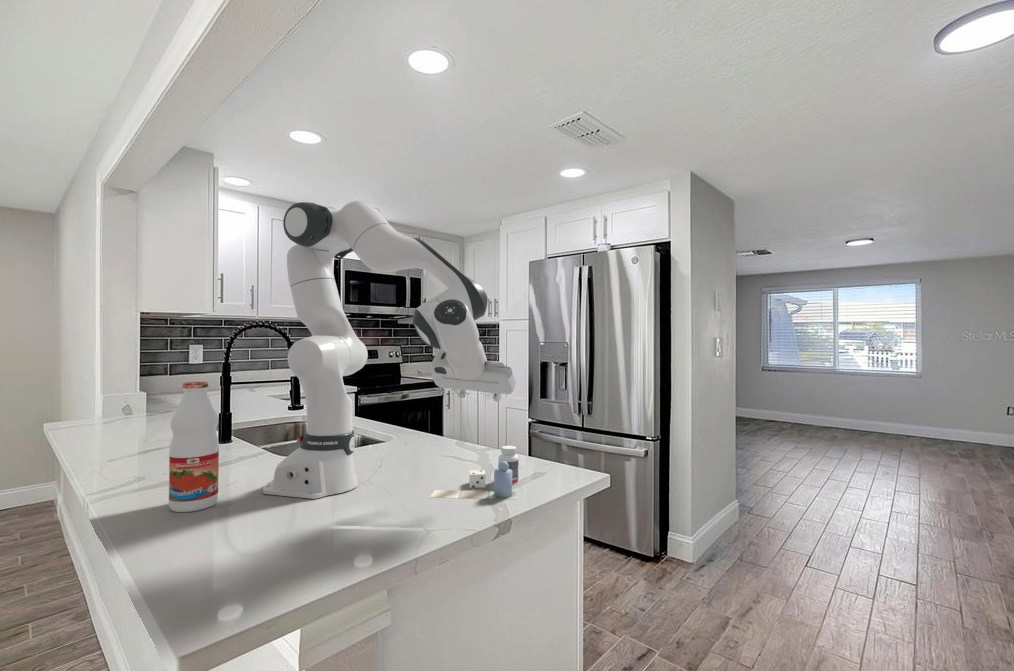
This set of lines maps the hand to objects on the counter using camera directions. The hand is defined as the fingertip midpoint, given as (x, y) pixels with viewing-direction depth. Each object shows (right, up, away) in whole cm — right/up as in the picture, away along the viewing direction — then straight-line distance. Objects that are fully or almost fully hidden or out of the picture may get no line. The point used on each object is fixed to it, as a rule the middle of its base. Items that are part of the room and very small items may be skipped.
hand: (480, 397), depth 120 cm
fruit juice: (-64, -23, -12) cm, 70 cm away
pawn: (+6, -23, -4) cm, 24 cm away
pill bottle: (+7, -24, +7) cm, 26 cm away
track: (-1, -24, -4) cm, 24 cm away
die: (-1, -24, +3) cm, 24 cm away
